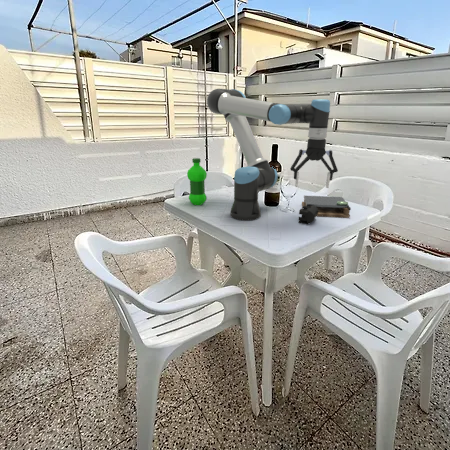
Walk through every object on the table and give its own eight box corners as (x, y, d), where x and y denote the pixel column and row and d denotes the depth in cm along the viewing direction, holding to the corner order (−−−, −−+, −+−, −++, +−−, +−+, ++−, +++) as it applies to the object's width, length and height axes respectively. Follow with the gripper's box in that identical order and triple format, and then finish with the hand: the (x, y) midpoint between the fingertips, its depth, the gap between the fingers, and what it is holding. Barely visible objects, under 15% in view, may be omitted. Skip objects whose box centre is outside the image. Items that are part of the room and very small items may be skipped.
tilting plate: (306, 206, 147) (307, 201, 146) (303, 197, 162) (304, 192, 161) (348, 207, 144) (349, 202, 143) (341, 198, 159) (342, 194, 158)
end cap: (313, 225, 135) (315, 211, 132) (297, 223, 138) (299, 209, 135) (317, 219, 143) (319, 205, 140) (302, 216, 146) (304, 203, 143)
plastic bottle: (198, 208, 158) (196, 161, 149) (184, 204, 165) (182, 158, 155) (210, 203, 165) (210, 158, 156) (197, 200, 172) (196, 156, 163)
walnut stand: (305, 215, 147) (306, 205, 145) (301, 204, 165) (302, 195, 163) (349, 218, 144) (351, 207, 142) (341, 206, 162) (342, 196, 160)
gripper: (287, 138, 125) (284, 187, 132) (349, 139, 121) (342, 189, 129) (287, 137, 132) (283, 183, 139) (345, 138, 128) (338, 185, 136)
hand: (311, 186), depth 134 cm, fingers open, 13 cm apart
